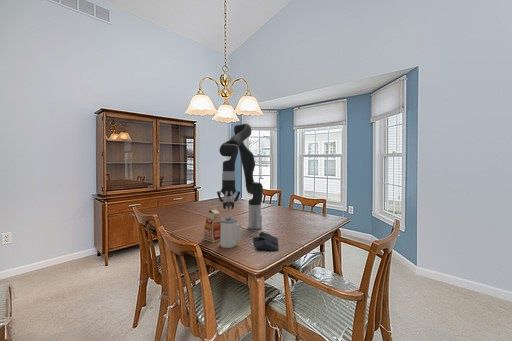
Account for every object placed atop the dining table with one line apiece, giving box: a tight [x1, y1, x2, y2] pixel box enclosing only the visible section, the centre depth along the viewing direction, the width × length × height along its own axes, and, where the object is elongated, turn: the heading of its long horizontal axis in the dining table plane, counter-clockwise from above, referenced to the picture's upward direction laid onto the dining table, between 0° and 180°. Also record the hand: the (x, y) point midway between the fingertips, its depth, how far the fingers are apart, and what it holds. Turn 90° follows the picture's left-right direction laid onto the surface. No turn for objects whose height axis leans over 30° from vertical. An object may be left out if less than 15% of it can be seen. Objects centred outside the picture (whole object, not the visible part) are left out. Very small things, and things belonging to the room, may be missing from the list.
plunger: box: [225, 200, 232, 220], centre depth 138 cm, size 4×4×16 cm
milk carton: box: [202, 207, 221, 243], centre depth 149 cm, size 9×9×20 cm
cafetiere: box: [219, 216, 242, 249], centre depth 139 cm, size 12×9×15 cm
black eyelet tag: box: [252, 231, 279, 252], centre depth 142 cm, size 15×22×5 cm
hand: (228, 208), depth 138 cm, fingers closed on plunger, 3 cm apart
